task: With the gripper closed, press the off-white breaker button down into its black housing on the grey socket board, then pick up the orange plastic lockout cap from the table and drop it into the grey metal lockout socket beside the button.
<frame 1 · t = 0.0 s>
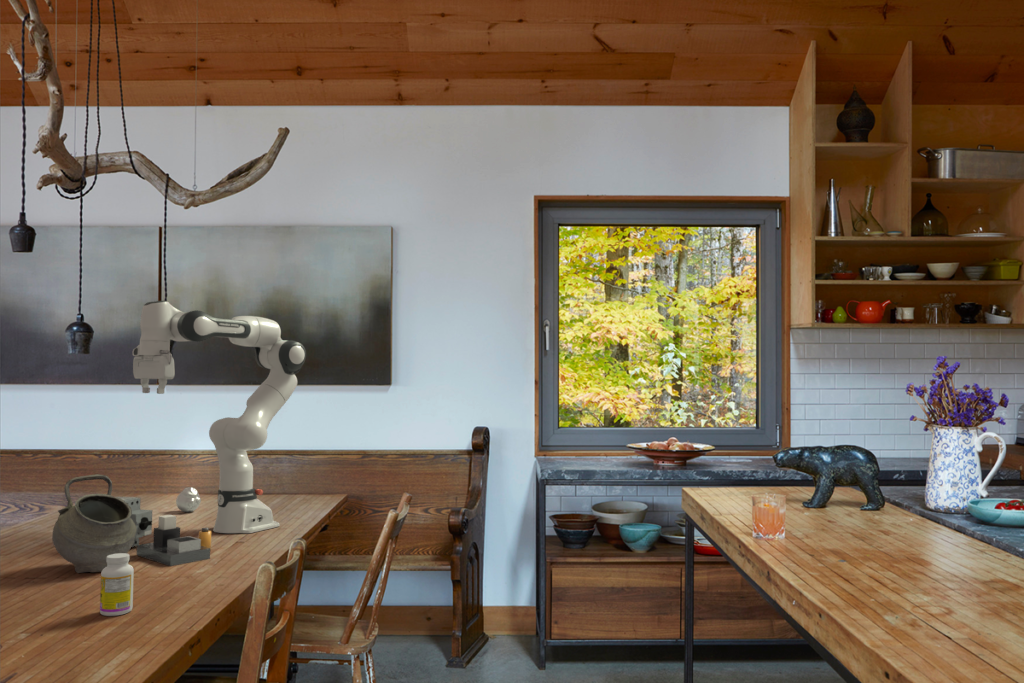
hand: (153, 393, 244), 48 cm above the table, tool pointing down, fingers open, 8 cm apart
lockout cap: (204, 551, 234), on the table
circuit breaker: (127, 548, 237), on the table
breaker button: (167, 524, 229), point 9 cm above the table, slide at 0.0 cm
ghost figurine: (188, 512, 299), on the table
pot: (93, 568, 212), on the table
grey socket board: (173, 556, 226), on the table
supplement bottle: (116, 613, 173), on the table
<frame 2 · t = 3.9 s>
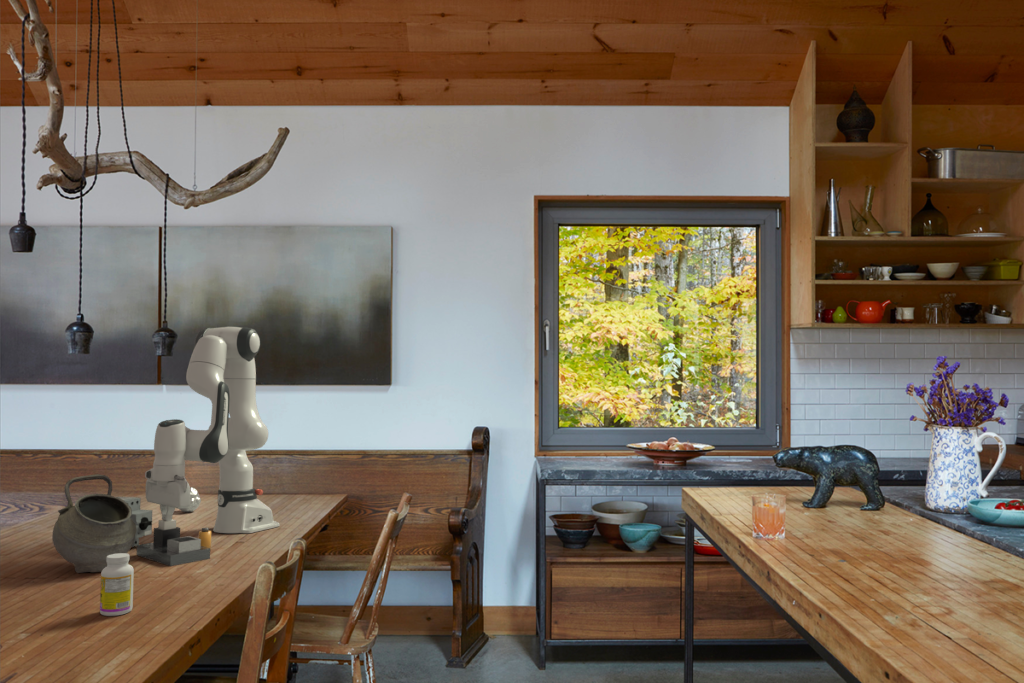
hand: (166, 520, 228), 10 cm above the table, tool pointing down, fingers closed, pressing on breaker button
breaker button: (167, 528, 229), point 8 cm above the table, slide at 1.2 cm, touching gripper
everything else where it was.
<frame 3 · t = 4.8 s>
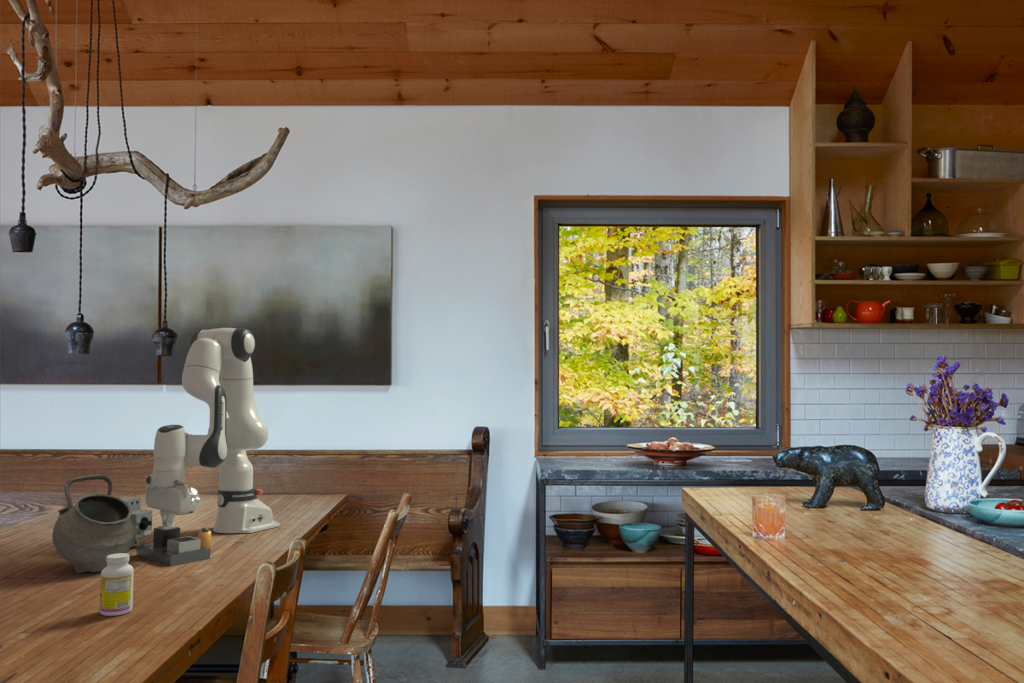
hand: (167, 525, 229), 9 cm above the table, tool pointing down, fingers closed
breaker button: (166, 534, 228), point 6 cm above the table, slide at 2.9 cm
everything else where it was.
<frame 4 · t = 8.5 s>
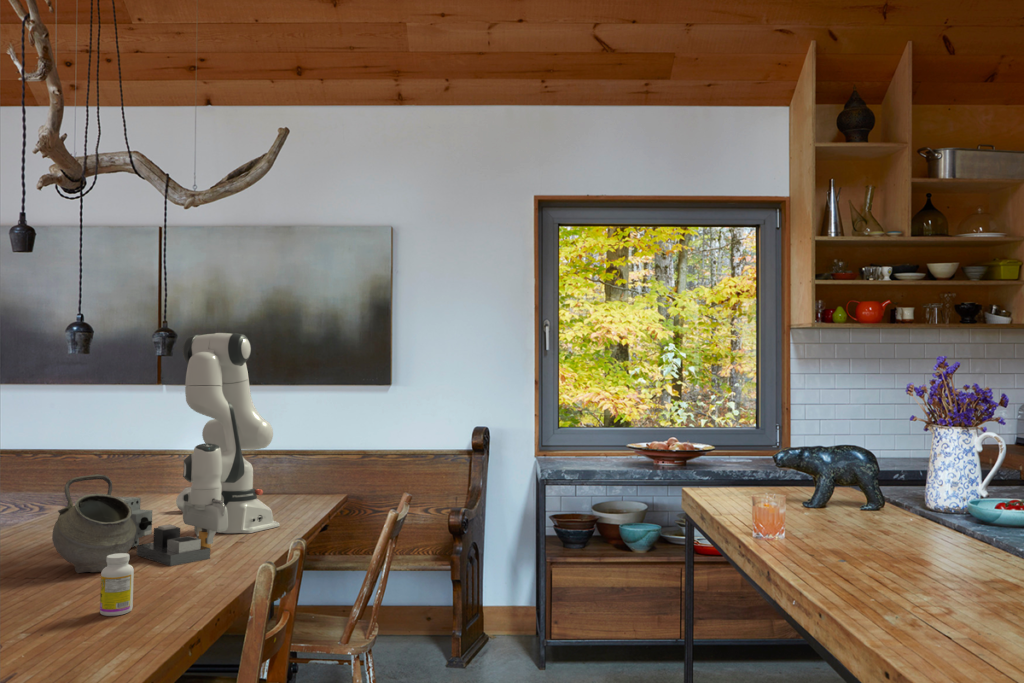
hand: (204, 542, 234), 3 cm above the table, tool pointing down, fingers closed on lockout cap, 4 cm apart
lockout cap: (204, 551, 234), on the table, touching gripper
everything else where it was.
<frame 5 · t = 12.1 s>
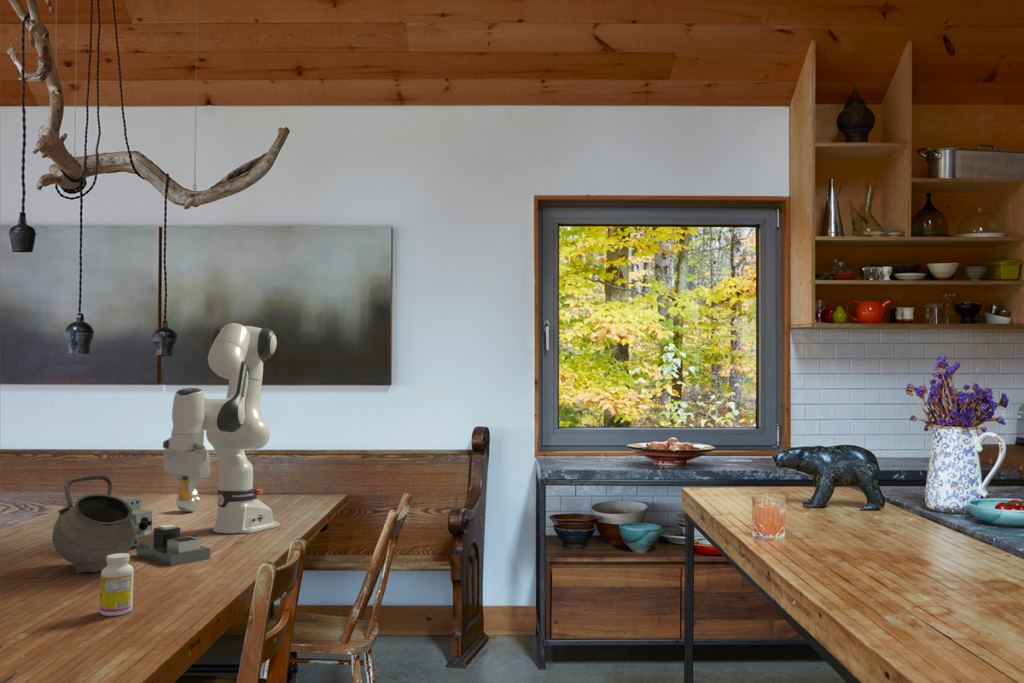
hand: (185, 490, 223), 20 cm above the table, tool pointing down, fingers closed on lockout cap, 4 cm apart
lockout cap: (185, 499, 223), point 17 cm above the table, touching gripper
everything else where it was.
when the fingers open (7 cm above the table, at t = 15.2 s): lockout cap drops 1 cm, resting on grey socket board.
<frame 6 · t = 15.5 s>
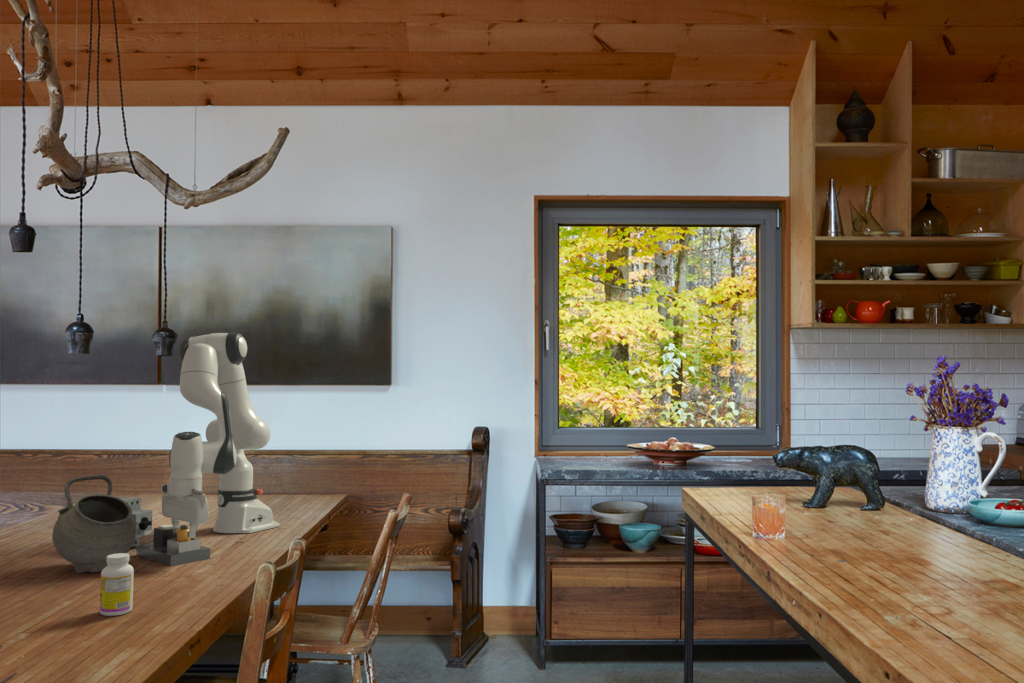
hand: (184, 535, 222), 7 cm above the table, tool pointing down, fingers open, 6 cm apart
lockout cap: (183, 549, 222), point 3 cm above the table, touching grey socket board
everything else where it was.
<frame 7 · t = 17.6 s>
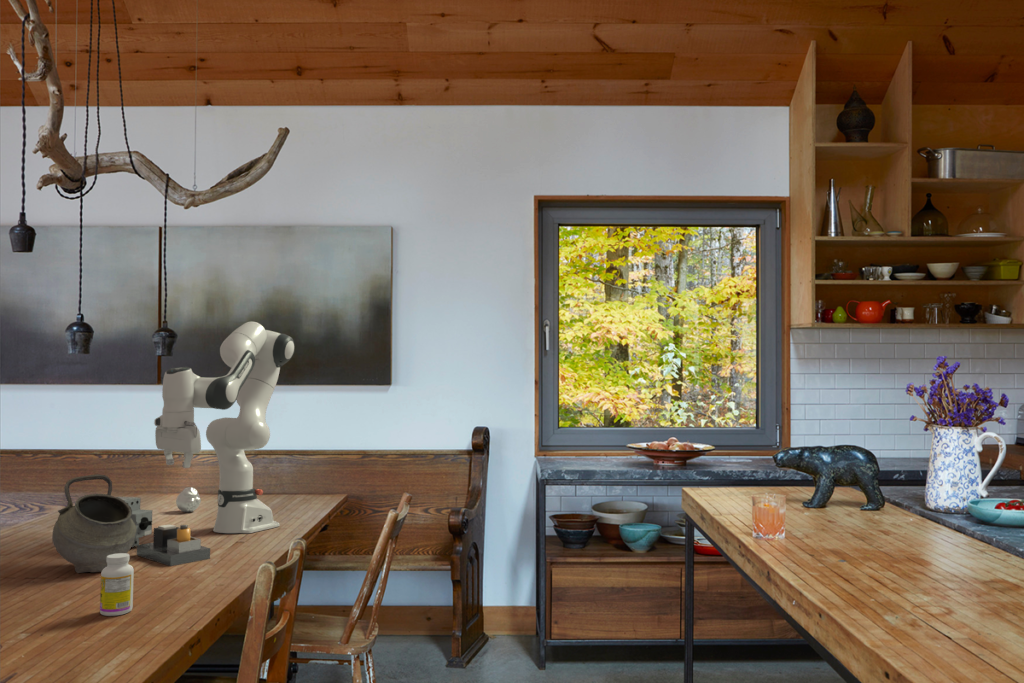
hand: (178, 466, 231), 26 cm above the table, tool pointing down, fingers open, 8 cm apart
nothing on the table moved.
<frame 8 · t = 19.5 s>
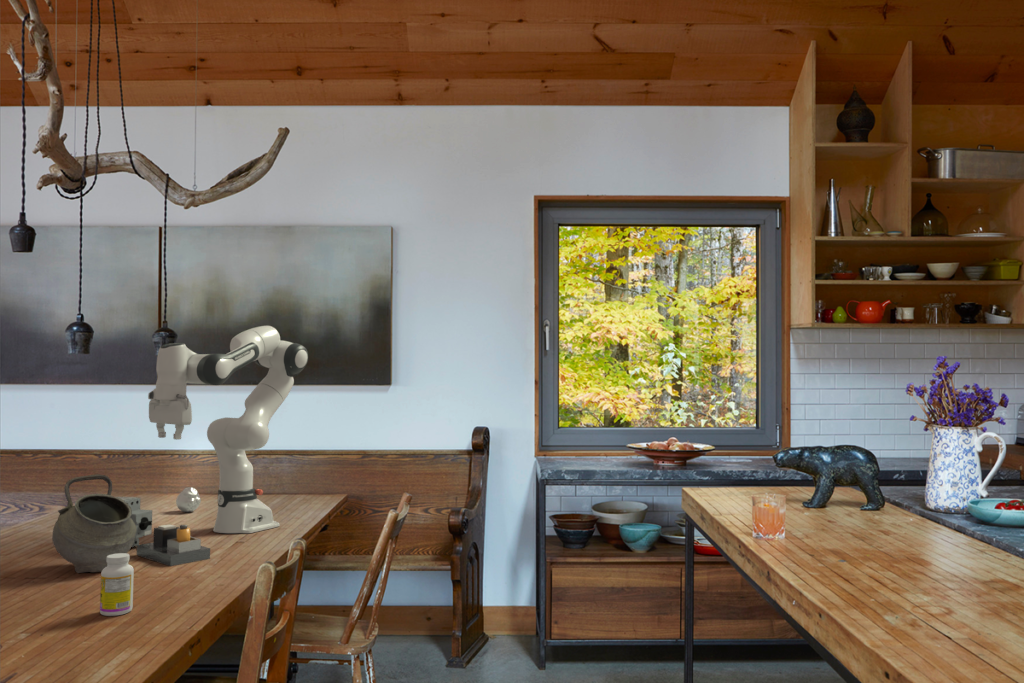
hand: (169, 438, 238), 34 cm above the table, tool pointing down, fingers open, 8 cm apart
nothing on the table moved.
at the end: breaker button slide at 2.9 cm; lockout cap 0.1 cm from the target spot on the grey socket board, point 3.0 cm above the grey socket board's base; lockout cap tilted 2° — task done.
